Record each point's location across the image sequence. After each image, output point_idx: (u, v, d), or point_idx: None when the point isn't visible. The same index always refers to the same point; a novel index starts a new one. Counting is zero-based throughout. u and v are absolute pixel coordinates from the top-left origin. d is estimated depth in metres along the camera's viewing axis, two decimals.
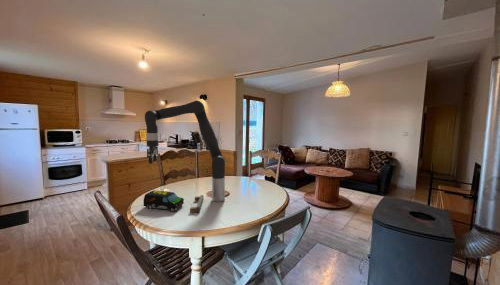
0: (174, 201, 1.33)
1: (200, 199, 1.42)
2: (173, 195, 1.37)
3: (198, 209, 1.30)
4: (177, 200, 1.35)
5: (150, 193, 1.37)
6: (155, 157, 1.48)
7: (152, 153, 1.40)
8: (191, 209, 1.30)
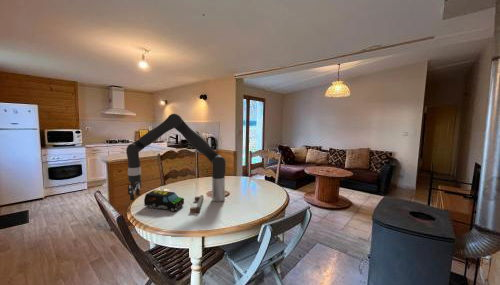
0: (174, 201, 1.33)
1: (200, 199, 1.42)
2: (173, 195, 1.37)
3: (198, 209, 1.30)
4: (177, 200, 1.35)
5: (151, 193, 1.38)
6: (138, 191, 1.39)
7: (134, 189, 1.31)
8: (191, 209, 1.30)
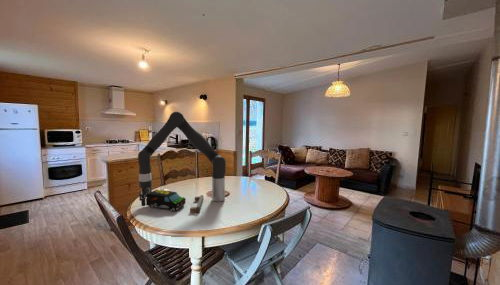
0: (176, 201, 1.33)
1: (200, 199, 1.42)
2: (175, 195, 1.38)
3: (198, 209, 1.30)
4: (179, 200, 1.35)
5: (152, 192, 1.38)
6: None
7: (145, 195, 1.33)
8: (191, 209, 1.30)
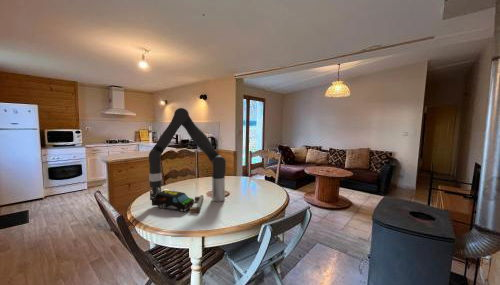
0: (184, 202, 1.32)
1: (200, 199, 1.42)
2: (183, 195, 1.36)
3: (198, 209, 1.30)
4: (187, 201, 1.34)
5: (161, 193, 1.38)
6: None
7: (155, 194, 1.33)
8: (191, 209, 1.30)
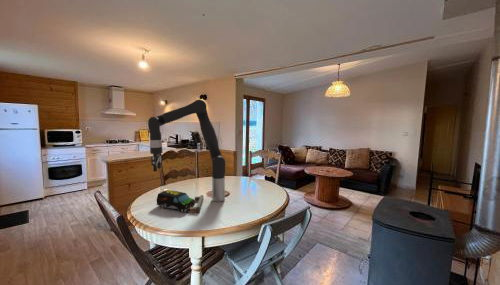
0: (184, 202, 1.32)
1: (200, 199, 1.42)
2: (184, 196, 1.36)
3: (198, 209, 1.30)
4: (187, 201, 1.33)
5: (163, 192, 1.39)
6: (159, 164, 1.44)
7: (156, 160, 1.36)
8: (191, 209, 1.30)
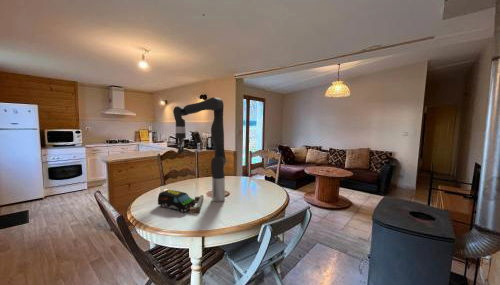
0: (184, 202, 1.32)
1: (200, 199, 1.42)
2: (185, 196, 1.36)
3: (198, 209, 1.30)
4: (188, 201, 1.33)
5: (164, 192, 1.39)
6: (182, 148, 1.65)
7: (181, 144, 1.57)
8: (191, 209, 1.30)
